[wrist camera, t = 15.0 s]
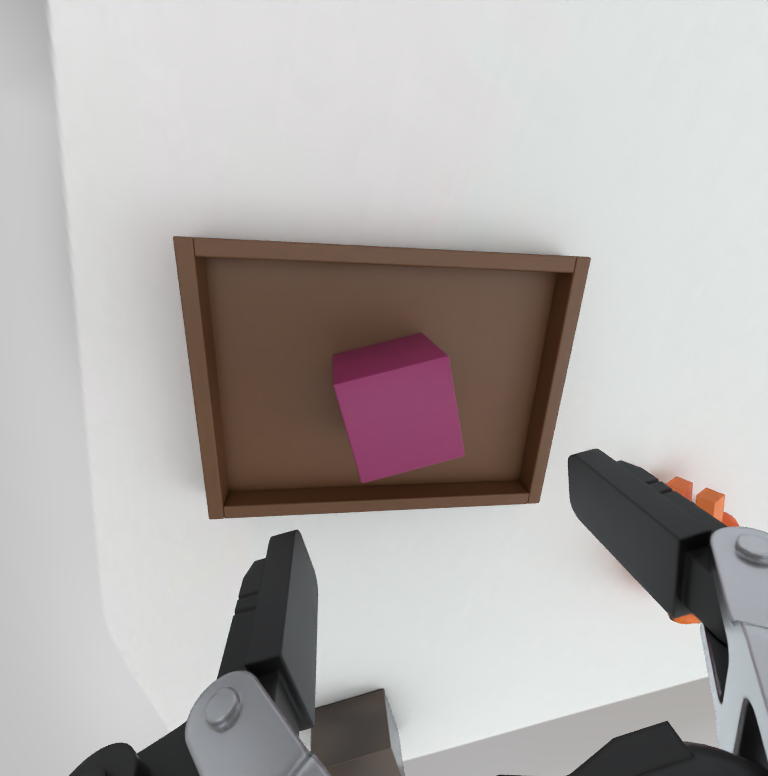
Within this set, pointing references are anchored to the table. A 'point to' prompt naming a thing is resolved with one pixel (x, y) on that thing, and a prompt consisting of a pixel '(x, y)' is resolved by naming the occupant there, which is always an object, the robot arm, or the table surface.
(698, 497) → the orange toy animal
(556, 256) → the tray
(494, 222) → the table surface
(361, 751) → the dark brown block
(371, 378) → the mulberry block
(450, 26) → the table surface
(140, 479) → the table surface
